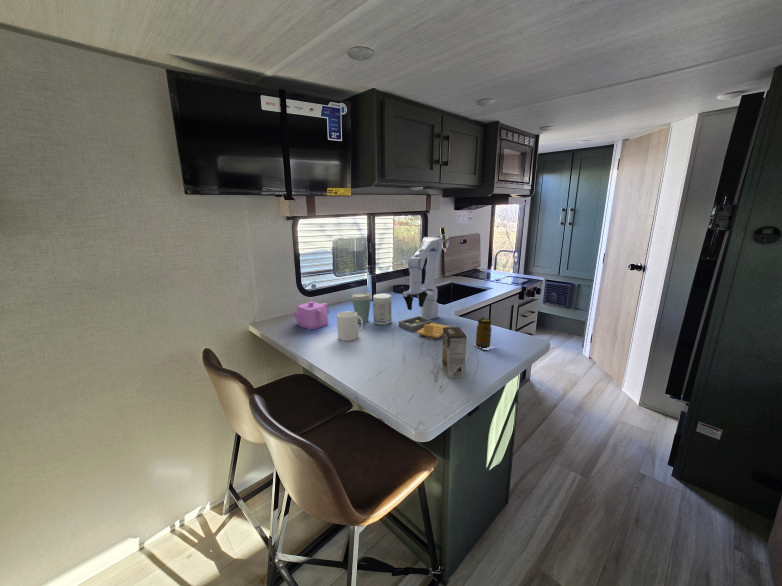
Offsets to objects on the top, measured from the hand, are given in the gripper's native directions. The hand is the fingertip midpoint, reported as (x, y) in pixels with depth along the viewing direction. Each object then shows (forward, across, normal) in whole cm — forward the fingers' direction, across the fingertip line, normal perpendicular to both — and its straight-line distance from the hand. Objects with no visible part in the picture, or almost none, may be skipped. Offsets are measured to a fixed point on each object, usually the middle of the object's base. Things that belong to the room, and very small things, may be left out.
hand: (415, 308), depth 165 cm
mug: (+11, +32, -10) cm, 35 cm away
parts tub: (+10, -2, -2) cm, 11 cm away
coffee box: (+11, +20, +43) cm, 49 cm away
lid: (+10, -2, +11) cm, 15 cm away
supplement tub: (+11, +8, -17) cm, 22 cm away
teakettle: (+11, +39, -38) cm, 55 cm away
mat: (+10, -3, +12) cm, 16 cm away
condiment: (+11, -8, +36) cm, 38 cm away
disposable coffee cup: (+11, +15, -26) cm, 32 cm away
